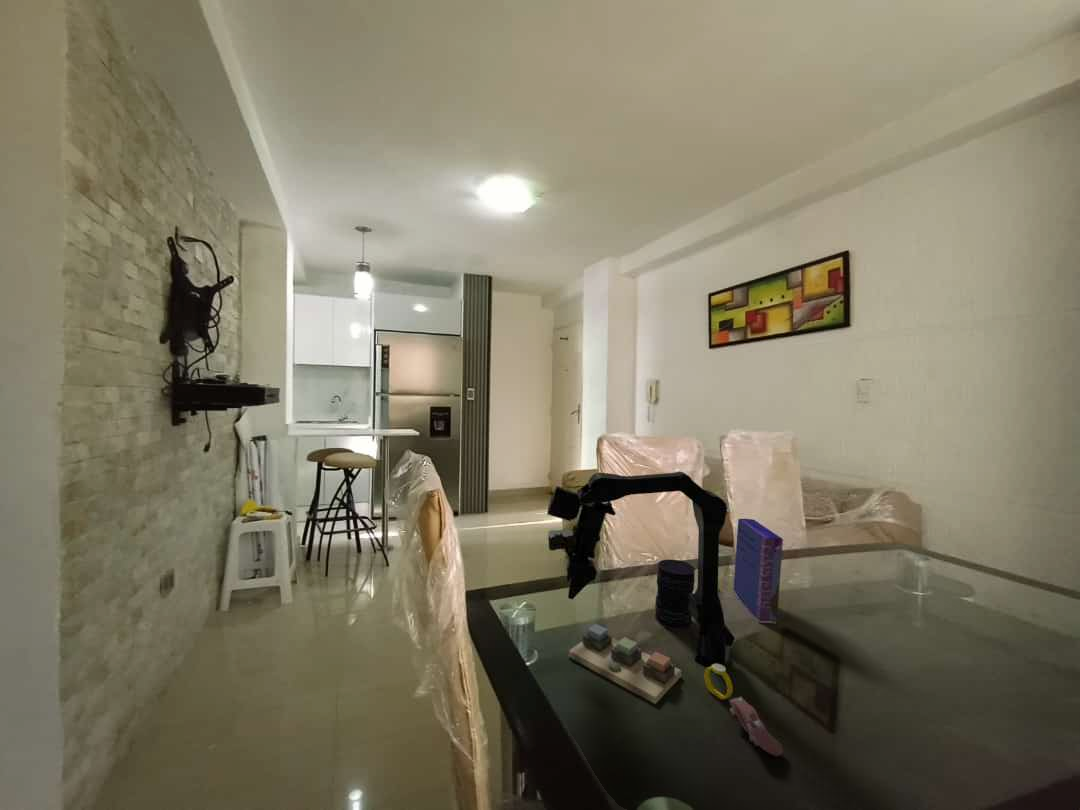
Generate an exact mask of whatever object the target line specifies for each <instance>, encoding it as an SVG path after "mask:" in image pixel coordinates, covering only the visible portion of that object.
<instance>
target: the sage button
mask: <svg viewBox="0 0 1080 810" xmlns="http://www.w3.org/2000/svg"><path fill="white" fill-rule="evenodd" d="M637 647H638V642H636V641H635V640H632V639H629V638H627V637H625V636H624V637H622V638H621V639H620V640H619V642H617V648H616V650H617V651H619V652H621V653H623V654H625V655H627V656H629V657H631V656H632V655H633V654H634V653H635V652H636V651H637Z"/></svg>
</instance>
